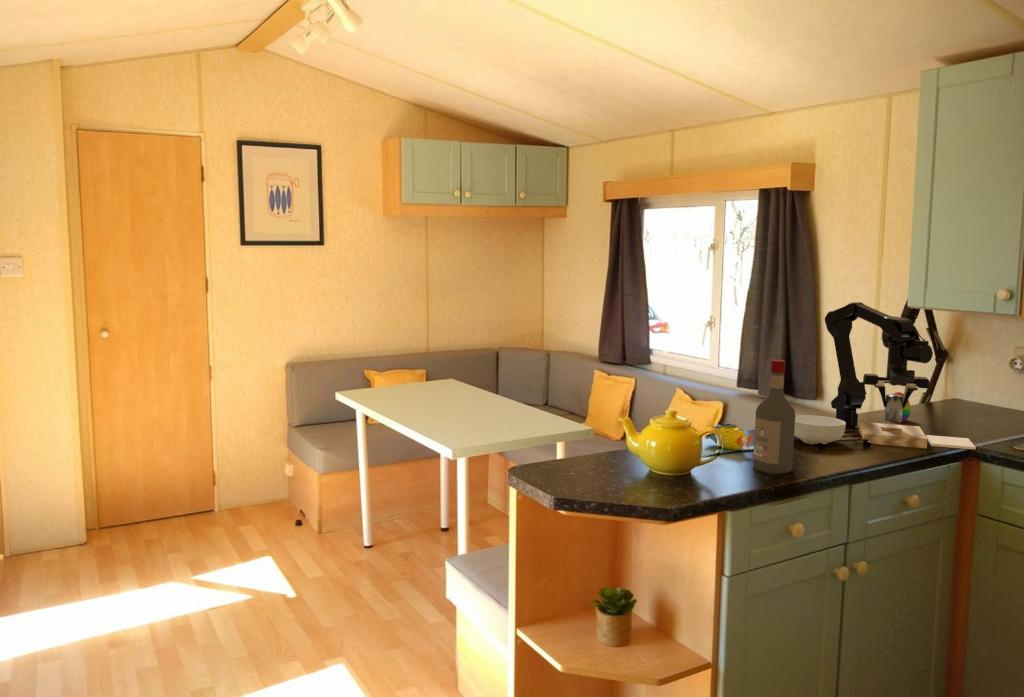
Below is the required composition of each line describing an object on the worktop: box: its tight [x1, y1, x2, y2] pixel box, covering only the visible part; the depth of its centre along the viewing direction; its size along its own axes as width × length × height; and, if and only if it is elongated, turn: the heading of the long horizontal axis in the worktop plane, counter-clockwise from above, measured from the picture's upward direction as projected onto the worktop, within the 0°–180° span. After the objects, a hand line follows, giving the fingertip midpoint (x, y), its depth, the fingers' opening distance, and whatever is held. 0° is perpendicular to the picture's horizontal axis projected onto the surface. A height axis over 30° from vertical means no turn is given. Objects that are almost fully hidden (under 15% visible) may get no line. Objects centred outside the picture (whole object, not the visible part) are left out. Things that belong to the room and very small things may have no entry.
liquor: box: [752, 359, 796, 475], centre depth 231 cm, size 9×9×30 cm
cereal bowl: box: [794, 414, 847, 445], centre depth 265 cm, size 17×17×7 cm
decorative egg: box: [893, 391, 912, 423], centre depth 298 cm, size 8×8×10 cm
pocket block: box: [858, 421, 928, 449], centre depth 270 cm, size 18×18×3 cm
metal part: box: [883, 393, 904, 423], centre depth 269 cm, size 5×5×8 cm
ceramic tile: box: [925, 434, 977, 451], centre depth 266 cm, size 12×12×1 cm
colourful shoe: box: [701, 423, 755, 458], centre depth 253 cm, size 28×9×15 cm
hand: (893, 407), depth 269 cm, fingers closed on metal part, 5 cm apart
